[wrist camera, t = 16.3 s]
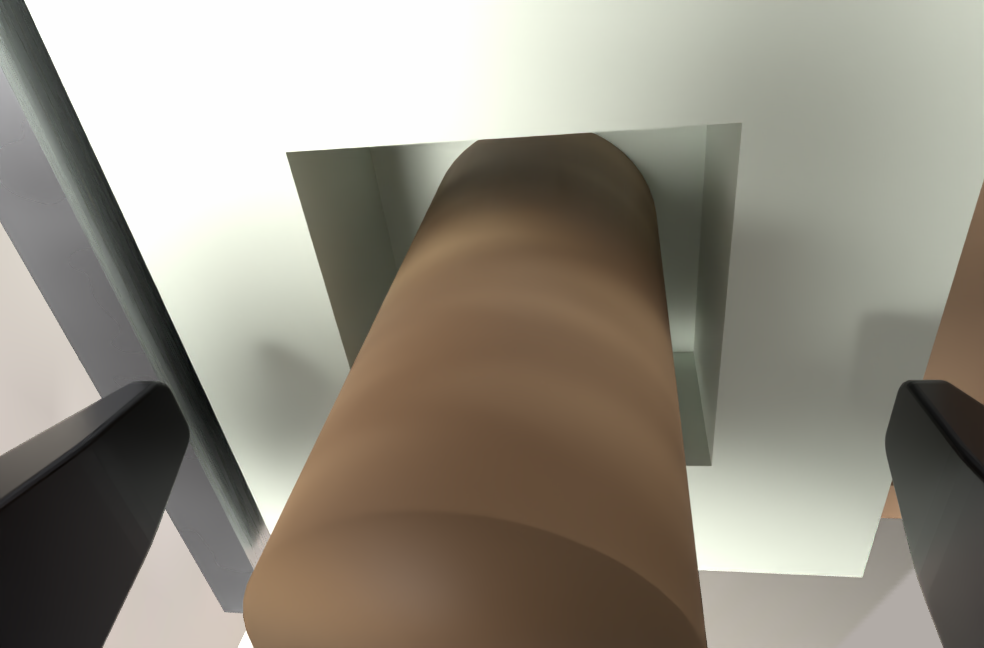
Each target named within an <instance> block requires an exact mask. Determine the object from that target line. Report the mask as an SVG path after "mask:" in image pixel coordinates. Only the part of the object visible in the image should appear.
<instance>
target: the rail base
mask: <svg viewBox="0 0 984 648" xmlns="http://www.w3.org/2000/svg"><path fill="white" fill-rule="evenodd" d="M0 222H1V224H2V226H3V227H4V229H5V231H6V232H7V234H8V236H9V238H10V239H11V241H12V243H13V245H14V246H15V248H16V250H17V252H18V253H19V255H20V257H21V259H22V260H23V262H24V264H25V266H26V267H27V269H28V271H29V273H30V274H31V276H32V278H33V279H34V281H35V283H36V285H37V286H38V288H39V290H40V292H41V293H42V295H43V297H44V299H45V300H46V302H47V304H48V306H49V307H50V309H51V311H52V313H53V314H54V316H55V318H56V319H57V321H58V323H59V325H60V326H61V328H62V330H63V332H64V333H65V335H66V337H67V339H68V340H69V342H70V344H71V346H72V347H73V349H74V351H75V353H76V354H77V356H78V358H79V360H80V361H81V363H82V365H83V366H84V368H85V370H86V372H87V373H88V375H89V377H90V379H91V380H92V382H93V384H94V386H95V387H96V389H97V391H98V393H99V394H100V396H101V398H104V397H106V396H107V395H109V394H111V393H113V392H114V391H116V390H118V389H120V388H122V387H123V386H125V385H127V384H129V383H131V382H134V381H161V382H164V383H165V384H167V385H168V386H169V387H170V389H171V390H172V392H173V394H174V396H175V398H176V400H177V402H178V404H179V406H180V409H181V411H182V413H183V415H184V417H185V419H186V421H187V423H188V425H189V429H190V439H189V444H188V447H187V450H186V453H185V456H184V458H183V461H182V464H181V467H180V469H179V472H178V475H177V478H176V480H175V483H174V486H173V489H172V491H171V494H170V497H169V500H168V502H167V505H166V508H165V509H166V511H167V513H168V514H169V516H170V518H171V520H172V521H173V523H174V525H175V527H176V528H177V530H178V532H179V534H180V535H181V537H182V539H183V540H184V542H185V544H186V546H187V547H188V549H189V551H190V553H191V554H192V556H193V558H194V560H195V561H196V563H197V565H198V567H199V568H200V570H201V572H202V574H203V575H204V577H205V579H206V581H207V582H208V584H209V586H210V587H211V589H212V591H213V593H214V594H215V596H216V598H217V600H218V601H219V603H220V605H221V607H222V608H223V610H224V612H232V613H243V599H244V595H245V590H246V586H247V583H248V581H249V579H250V577H251V575H252V573H253V571H254V569H255V567H256V565H257V562H258V560H259V558H260V556H261V554H262V552H263V550H264V548H265V546H266V544H267V542H268V540H269V538H270V536H271V535H270V533H269V530H268V528H267V526H266V524H265V522H264V520H263V517H262V515H261V513H260V511H259V509H258V507H257V504H256V502H255V500H254V498H253V496H252V494H251V491H250V489H249V487H248V485H247V483H246V481H245V478H244V476H243V474H242V472H241V470H240V467H239V465H238V463H237V461H236V459H235V457H234V454H233V452H232V450H231V448H230V446H229V444H228V441H227V439H226V437H225V435H224V433H223V431H222V428H221V426H220V424H219V422H218V420H217V418H216V415H215V413H214V411H213V409H212V407H211V404H210V402H209V400H208V398H207V396H206V394H205V391H204V389H203V387H202V385H201V383H200V381H199V378H198V376H197V374H196V372H195V370H194V368H193V365H192V363H191V361H190V359H189V357H188V355H187V352H186V350H185V348H184V346H183V344H182V342H181V339H180V337H179V335H178V333H177V331H176V328H175V326H174V324H173V322H172V320H171V318H170V315H169V313H168V311H167V309H166V307H165V305H164V302H163V300H162V298H161V296H160V294H159V292H158V289H157V287H156V285H155V283H154V281H153V279H152V276H151V274H150V272H149V270H148V268H147V265H146V263H145V261H144V259H143V257H142V255H141V252H140V250H139V248H138V246H137V244H136V242H135V239H134V237H133V235H132V233H131V231H130V229H129V226H128V224H127V222H126V220H125V218H124V216H123V213H122V211H121V209H120V207H119V205H118V202H117V200H116V198H115V196H114V194H113V192H112V189H111V187H110V185H109V183H108V181H107V179H106V176H105V174H104V172H103V170H102V168H101V166H100V163H99V161H98V159H97V157H96V155H95V153H94V150H93V148H92V146H91V144H90V142H89V140H88V137H87V135H86V133H85V131H84V129H83V126H82V124H81V122H80V120H79V118H78V116H77V113H76V111H75V109H74V107H73V105H72V103H71V100H70V98H69V96H68V94H67V92H66V90H65V87H64V85H63V83H62V81H61V79H60V77H59V74H58V72H57V70H56V68H55V66H54V63H53V61H52V59H51V57H50V55H49V53H48V50H47V48H46V46H45V44H44V42H43V40H42V37H41V35H40V33H39V31H38V29H37V27H36V24H35V22H34V20H33V18H32V16H31V14H30V11H29V9H28V7H27V5H26V3H25V1H24V0H0ZM923 380H944V381H947V382H949V383H951V384H953V385H954V386H956V387H957V388H959V389H960V390H962V391H963V392H965V393H966V394H968V395H969V396H971V397H972V398H974V399H976V400H977V401H979V402H980V403H982V404H983V405H984V181H983V184H982V187H981V190H980V194H979V197H978V200H977V204H976V207H975V210H974V213H973V217H972V220H971V223H970V226H969V230H968V233H967V236H966V240H965V243H964V246H963V249H962V253H961V256H960V259H959V263H958V266H957V269H956V272H955V276H954V279H953V282H952V285H951V289H950V292H949V295H948V299H947V302H946V305H945V308H944V312H943V315H942V318H941V322H940V325H939V328H938V331H937V335H936V338H935V341H934V344H933V348H932V351H931V354H930V358H929V361H928V364H927V367H926V371H925V374H924V377H923ZM881 518H901V519H902V517H901V513H900V509H899V505H898V501H897V497H896V493H895V489H894V485H893V481H892V482H891V485H890V489H889V492H888V495H887V498H886V502H885V505H884V508H883V512H882V515H881Z"/></svg>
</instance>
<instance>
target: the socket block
mask: <svg viewBox="0 0 984 648" xmlns="http://www.w3.org/2000/svg"><path fill="white" fill-rule="evenodd" d="M24 1H25V3H26V5H27V7H28V9H29V11H30V14H31V16H32V18H33V20H34V22H35V24H36V27H37V29H38V31H39V33H40V35H41V37H42V40H43V42H44V44H45V46H46V48H47V50H48V53H49V55H50V57H51V59H52V61H53V63H54V66H55V68H56V70H57V72H58V74H59V77H60V79H61V81H62V83H63V85H64V87H65V90H66V92H67V94H68V96H69V98H70V100H71V103H72V105H73V107H74V109H75V111H76V113H77V116H78V118H79V120H80V122H81V124H82V126H83V129H84V131H85V133H86V135H87V137H88V140H89V142H90V144H91V146H92V148H93V150H94V153H95V155H96V157H97V159H98V161H99V163H100V166H101V168H102V170H103V172H104V174H105V176H106V179H107V181H108V183H109V185H110V187H111V189H112V192H113V194H114V196H115V198H116V200H117V202H118V205H119V207H120V209H121V211H122V213H123V216H124V218H125V220H126V222H127V224H128V226H129V229H130V231H131V233H132V235H133V237H134V239H135V242H136V244H137V246H138V248H139V250H140V252H141V255H142V257H143V259H144V261H145V263H146V265H147V268H148V270H149V272H150V274H151V276H152V279H153V281H154V283H155V285H156V287H157V289H158V292H159V294H160V296H161V298H162V300H163V302H164V305H165V307H166V309H167V311H168V313H169V315H170V318H171V320H172V322H173V324H174V326H175V328H176V331H177V333H178V335H179V337H180V339H181V342H182V344H183V346H184V348H185V350H186V352H187V355H188V357H189V359H190V361H191V363H192V365H193V368H194V370H195V372H196V374H197V376H198V378H199V381H200V383H201V385H202V387H203V389H204V391H205V394H206V396H207V398H208V400H209V402H210V404H211V407H212V409H213V411H214V413H215V415H216V418H217V420H218V422H219V424H220V426H221V428H222V431H223V433H224V435H225V437H226V439H227V441H228V444H229V446H230V448H231V450H232V452H233V454H234V457H235V459H236V461H237V463H238V465H239V467H240V470H241V472H242V474H243V476H244V478H245V481H246V483H247V485H248V487H249V489H250V491H251V494H252V496H253V498H254V500H255V502H256V504H257V507H258V509H259V511H260V513H261V515H262V517H263V520H264V522H265V524H266V526H267V528H268V530H269V533H270V535H271V533H272V531H273V529H274V527H275V525H276V523H277V521H278V519H279V517H280V515H281V513H282V511H283V509H284V507H285V504H286V502H287V500H288V498H289V496H290V494H291V492H292V490H293V488H294V486H295V484H296V482H297V480H298V478H299V475H300V473H301V471H302V469H303V467H304V465H305V463H306V461H307V459H308V457H309V455H310V453H311V451H312V449H313V446H314V444H315V442H316V440H317V438H318V436H319V434H320V432H321V430H322V428H323V426H324V424H325V422H326V420H327V417H328V415H329V413H330V411H331V409H332V407H333V405H334V403H335V401H336V399H337V397H338V395H339V393H340V391H341V388H342V386H343V384H344V382H345V380H346V378H347V376H348V374H349V372H350V370H351V368H352V366H353V364H354V361H355V359H356V357H357V355H358V353H359V351H360V349H361V347H362V345H363V343H364V341H365V339H366V337H367V335H368V332H369V330H370V328H371V326H372V324H373V322H374V320H375V318H376V316H377V314H378V312H379V310H380V308H381V306H382V303H383V301H384V299H385V297H386V295H387V293H388V291H389V289H390V287H391V285H392V283H393V281H394V279H395V277H396V274H397V272H398V270H399V268H400V266H401V264H402V262H403V260H404V258H405V256H406V254H407V252H408V250H409V248H410V245H411V243H412V241H413V239H414V237H415V235H416V233H417V231H418V229H419V227H420V225H421V223H422V221H423V219H424V216H425V214H426V212H427V210H428V208H429V206H430V204H431V202H432V200H433V198H434V196H435V194H436V192H437V190H438V187H439V185H440V183H441V181H442V179H443V177H444V175H445V174H446V172H447V170H448V169H449V168H450V166H451V165H452V163H453V162H454V161H455V160H456V159H457V158H458V156H459V155H460V154H461V153H462V152H463V151H464V150H466V149H467V148H468V147H469V146H471V145H472V144H473V143H474V142H476V141H477V140H482V139H498V138H513V137H529V136H544V135H560V134H575V133H591V132H592V133H595V134H597V135H598V136H600V137H602V138H604V139H605V140H607V141H609V142H610V143H612V144H613V145H614V146H616V147H617V148H618V149H620V150H621V151H622V152H623V153H624V154H625V155H626V156H627V157H628V158H629V159H630V160H631V161H632V162H633V163H634V164H635V166H636V167H637V168H638V170H639V171H640V172H641V174H642V175H643V177H644V179H645V181H646V183H647V185H648V186H649V189H650V192H651V194H652V197H653V200H654V204H655V209H656V214H657V223H658V231H659V240H660V248H661V257H662V266H663V274H664V283H665V291H666V300H667V308H668V317H669V325H670V334H671V342H672V351H673V359H674V368H675V376H676V385H677V393H678V402H679V410H680V419H681V427H682V436H683V444H684V453H685V461H686V470H687V478H688V487H689V495H690V504H691V513H692V521H693V530H694V538H695V547H696V555H697V564H698V570H709V571H731V572H753V573H775V574H797V575H819V576H841V577H863V574H864V571H865V567H866V564H867V561H868V557H869V554H870V551H871V548H872V544H873V541H874V538H875V534H876V531H877V528H878V525H879V521H880V518H881V515H882V512H883V508H884V505H885V502H886V498H887V495H888V492H889V489H890V485H891V482H892V477H891V473H890V469H889V465H888V461H887V457H886V451H885V435H886V431H887V427H888V424H889V420H890V416H891V413H892V409H893V406H894V402H895V399H896V395H897V392H898V389H899V387H900V386H901V384H902V383H903V382H905V381H907V380H923V377H924V374H925V371H926V367H927V364H928V361H929V358H930V354H931V351H932V348H933V344H934V341H935V338H936V335H937V331H938V328H939V325H940V322H941V318H942V315H943V312H944V308H945V305H946V302H947V299H948V295H949V292H950V289H951V285H952V282H953V279H954V276H955V272H956V269H957V266H958V263H959V259H960V256H961V253H962V249H963V246H964V243H965V240H966V236H967V233H968V230H969V226H970V223H971V220H972V217H973V213H974V210H975V207H976V204H977V200H978V197H979V194H980V190H981V187H982V184H983V181H984V0H24Z"/></svg>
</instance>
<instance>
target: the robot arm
mask: <svg viewBox="0 0 984 648" xmlns="http://www.w3.org/2000/svg"><path fill="white" fill-rule="evenodd" d="M189 439H190V429H189V425H188V423H187V421H186V419H185V417H184V415H183V413H182V411H181V409H180V406H179V404H178V402H177V400H176V398H175V396H174V394H173V392H172V390H171V389H170V387H169V386H168V385H167V384H165V383H164V382H161V381H134V382H131V383H129V384H127V385H125V386H123V387H122V388H120V389H118V390H116V391H114V392H113V393H111V394H109V395H107V396H106V397H104V398H102V399H100V400H98V401H97V402H95V403H93V404H91V405H90V406H88V407H86V408H84V409H82V410H81V411H79V412H77V413H75V414H74V415H72V416H70V417H68V418H66V419H65V420H63V421H61V422H59V423H58V424H56V425H54V426H52V427H50V428H49V429H47V430H45V431H43V432H42V433H40V434H38V435H36V436H35V437H33V438H31V439H29V440H27V441H26V442H24V443H22V444H20V445H19V446H17V447H15V448H13V449H11V450H10V451H8V452H6V453H4V454H3V455H1V456H0V648H103V646H104V644H105V642H106V639H107V637H108V635H109V633H110V631H111V629H112V627H113V625H114V623H115V621H116V619H117V617H118V615H119V612H120V610H121V608H122V606H123V604H124V602H125V600H126V598H127V596H128V594H129V592H130V590H131V588H132V585H133V583H134V581H135V579H136V577H137V575H138V573H139V571H140V569H141V567H142V565H143V563H144V560H145V558H146V556H147V554H148V552H149V549H150V547H151V545H152V542H153V540H154V537H155V535H156V532H157V530H158V527H159V524H160V522H161V519H162V516H163V513H164V511H165V508H166V505H167V502H168V500H169V497H170V494H171V491H172V489H173V486H174V483H175V480H176V478H177V475H178V472H179V469H180V467H181V464H182V461H183V458H184V456H185V453H186V450H187V447H188V444H189ZM885 451H886V457H887V461H888V465H889V469H890V473H891V477H892V481H893V485H894V489H895V493H896V497H897V501H898V505H899V509H900V513H901V517H902V521H903V525H904V529H905V533H906V537H907V541H908V545H909V549H910V553H911V557H912V560H913V564H914V568H915V571H916V575H917V578H918V581H919V584H920V587H921V589H922V593H923V596H924V598H925V601H926V604H927V606H928V609H929V612H930V614H931V617H932V619H933V622H934V625H935V627H936V630H937V632H938V635H939V638H940V640H941V643H942V645H943V648H984V405H983V404H982V403H980V402H979V401H977V400H976V399H974V398H972V397H971V396H969V395H968V394H966V393H965V392H963V391H962V390H960V389H959V388H957V387H956V386H954V385H953V384H951V383H949V382H947V381H944V380H907V381H905V382H903V383H902V384H901V386H900V387H899V389H898V392H897V395H896V399H895V402H894V406H893V409H892V413H891V416H890V420H889V424H888V427H887V431H886V435H885Z"/></svg>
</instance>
